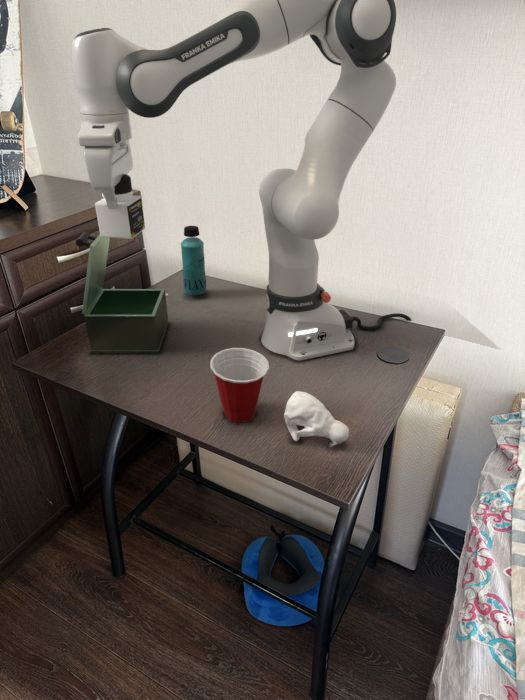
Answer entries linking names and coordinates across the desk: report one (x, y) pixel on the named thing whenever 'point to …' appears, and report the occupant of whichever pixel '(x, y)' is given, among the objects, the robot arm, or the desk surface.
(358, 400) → the desk surface
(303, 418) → the white figurine
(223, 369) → the plastic cup
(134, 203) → the medicine bottle
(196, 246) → the beverage bottle
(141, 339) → the green open box
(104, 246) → the lid
